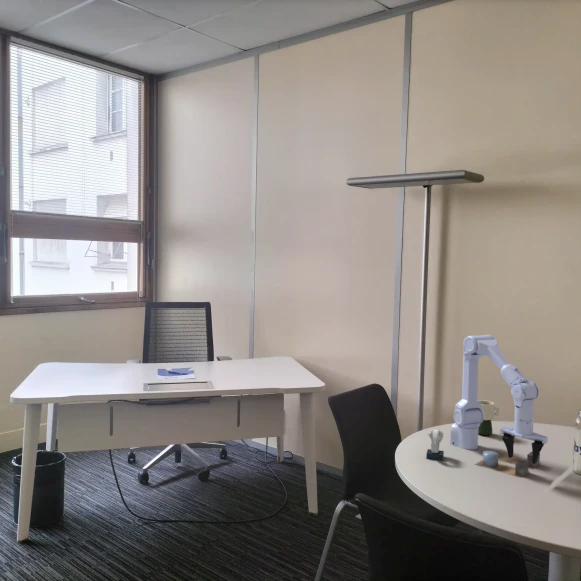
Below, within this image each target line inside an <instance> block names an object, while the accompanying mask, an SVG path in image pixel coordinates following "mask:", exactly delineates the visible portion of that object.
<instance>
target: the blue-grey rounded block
mask: <svg viewBox="0 0 581 581" xmlns="http://www.w3.org/2000/svg"><path fill="white" fill-rule="evenodd" d="M497 452H498V451H494V450H484V451H483V452H482V460H483V465H484V466H486V467H490V468H496V467H498V463H499V460H498V457H499V454H498V453H497Z"/></svg>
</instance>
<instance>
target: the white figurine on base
mask: <svg viewBox="0 0 581 581" xmlns="http://www.w3.org/2000/svg"><path fill="white" fill-rule="evenodd" d="M427 436H429V438H430V440H431V445H430V447H431V448H430V449H429V448H427V449H426V457H425V458H426V460H434V461H435V460H436V461H441V462H443V460H444V457H445V456H444V453H445V452H444V450H440V444H441V442H442V441H443V438H444V433H443V431H442V430H440V429H437V428H432V429H430V430H429V432H428V433H427Z"/></svg>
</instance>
